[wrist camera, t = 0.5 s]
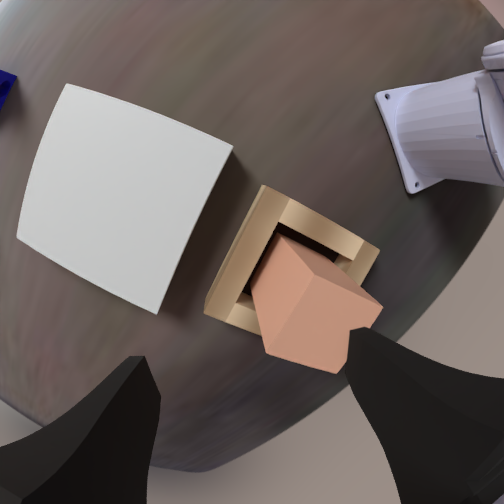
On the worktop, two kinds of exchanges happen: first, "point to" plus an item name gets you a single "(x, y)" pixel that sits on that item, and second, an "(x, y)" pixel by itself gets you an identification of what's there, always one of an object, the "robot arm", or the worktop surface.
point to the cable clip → (5, 85)
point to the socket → (254, 241)
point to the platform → (118, 193)
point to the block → (308, 305)
